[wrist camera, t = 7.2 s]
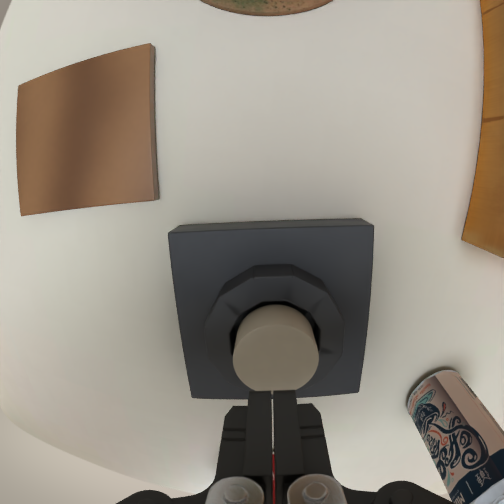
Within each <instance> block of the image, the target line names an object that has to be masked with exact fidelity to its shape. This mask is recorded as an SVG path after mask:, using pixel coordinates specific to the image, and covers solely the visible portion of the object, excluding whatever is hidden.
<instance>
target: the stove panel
mask: <svg viewBox="0 0 504 504" xmlns="http://www.w3.org/2000/svg"><path fill="white" fill-rule="evenodd" d="M168 241H169V250H170V259H171V268H172V276H173V284H174V292H175V299H176V307H177V314H178V320H179V327H180V333H181V340H182V346H183V352H184V358H185V364H186V369H187V375H188V380H189V385H190V391H191V396H192V398H202V399H248V396H249V391H255V390H253V389H251V388H250V387H248V386H247V385H245V384H244V383H243V382H242V381H241V380H240V379H239V377H238V376H237V374H236V372H235V369H234V366H233V353H234V348H235V342H236V336H237V331H238V328H239V326H240V324H241V322H242V321H243V319H244V318H245V317H246V316H247V315H248V314H249V313H251V312H252V311H254V310H255V309H257V308H260V307H263V306H267V305H285V306H289V307H292V308H294V309H296V310H298V311H299V312H301V313H302V314H303V315H304V316H305V317H306V318H307V320H308V321H309V323H310V325H311V327H312V330H313V334H314V338H315V341H316V345H317V349H318V353H319V362H318V366H317V369H316V371H315V373H314V375H313V376H312V378H311V379H310V380H309V381H308V382H307V383H306V384H305V385H303V386H302V387H300V388H298V389H297V390H295V392H296V398H303V397H318V396H330V395H340V394H350V393H358V392H359V387H360V381H361V374H362V368H363V360H364V353H365V345H366V337H367V328H368V318H369V307H370V296H371V282H372V266H373V244H374V225H372V224H370V223H368V222H367V221H365V220H363V219H320V220H287V221H259V222H236V223H215V224H195V225H180V226H178V227H176V228H175V229H173V230H172V231H170V232H169V233H168ZM271 399H273V394H271Z"/></svg>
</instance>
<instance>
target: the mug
mask: <svg viewBox="0 0 504 504" xmlns="http://www.w3.org/2000/svg"><path fill="white" fill-rule="evenodd" d="M201 1H203V2H205V3H207V4H209V5H211V6H214V7H217V8H220V9H223V10H226V11H230V12H235V13H241V14H248V15H260V16H274V15H287V14H294V13H299V12H304V11H308V10H311V9H315V8H317V7H320V6H322V5H325V4H327V3H329V2H331V1H332V0H201Z"/></svg>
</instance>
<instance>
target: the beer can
mask: <svg viewBox="0 0 504 504" xmlns="http://www.w3.org/2000/svg"><path fill="white" fill-rule="evenodd" d="M407 408H408V413H409V414H410V415H411V417H412V419H413V421H414V423H415V425H416V427H417V429H418V431H419V433H420V435H421V437H422V439H423V441H424V443H425V445H426V447H427V449H428V451H429V453H430V455H431V457H432V459H433V461H434V463H435V465H436V468H437V470H438V472H439V474H440V476H441V478H442V480H443V483H444V485H445V487H446V489H447V491H448V493H449V496H450V498H451V500H452V502H453V503H455V504H504V431H503V430H502V429H501V427H500V426H499V425H498V423H497V422H496V421H495V419H494V418H493V417H492V415H491V414H490V413H489V411H488V410H487V409H486V407H485V406H484V405H483V404H482V402H481V401H480V400H479V398H478V397H477V396H476V395H475V393H474V392H473V391H472V390H471V388H470V387H469V386H468V385H467V383H466V382H465V381H464V380H463V379H462V377H461V376H460V375H459V373H458V372H456V371H453V370H442V371H439V372H436V373H434V374H433V375H431V376H429V377H427V378H426V379H424V380H423V381H422V382H421V383H420V384H419V385H418V386H417V387H416V389H415V390H414V391H413V392H412V394H411V396H410V398H409V401H408V406H407Z"/></svg>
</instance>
